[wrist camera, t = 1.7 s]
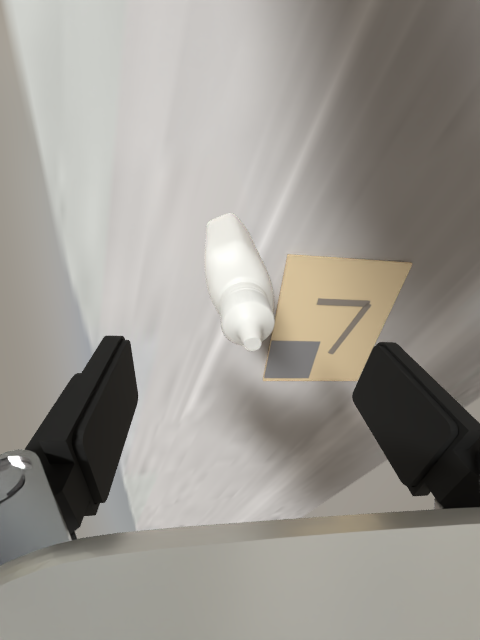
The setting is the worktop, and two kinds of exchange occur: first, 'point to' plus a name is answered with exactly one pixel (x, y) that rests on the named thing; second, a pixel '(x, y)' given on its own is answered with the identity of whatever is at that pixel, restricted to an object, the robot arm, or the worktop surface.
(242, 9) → the worktop surface
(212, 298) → the eye dropper bottle
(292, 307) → the card
